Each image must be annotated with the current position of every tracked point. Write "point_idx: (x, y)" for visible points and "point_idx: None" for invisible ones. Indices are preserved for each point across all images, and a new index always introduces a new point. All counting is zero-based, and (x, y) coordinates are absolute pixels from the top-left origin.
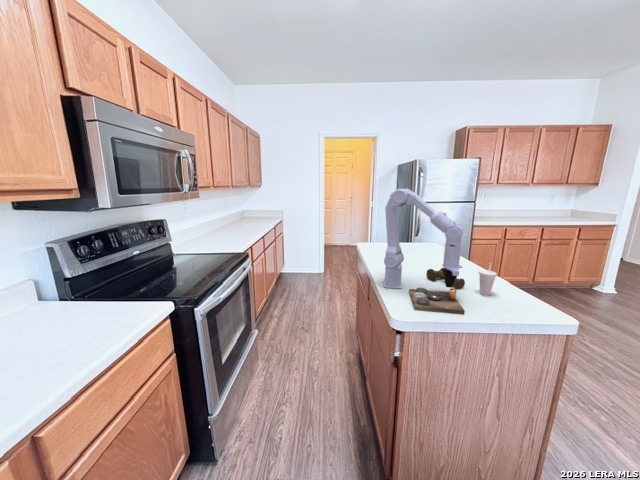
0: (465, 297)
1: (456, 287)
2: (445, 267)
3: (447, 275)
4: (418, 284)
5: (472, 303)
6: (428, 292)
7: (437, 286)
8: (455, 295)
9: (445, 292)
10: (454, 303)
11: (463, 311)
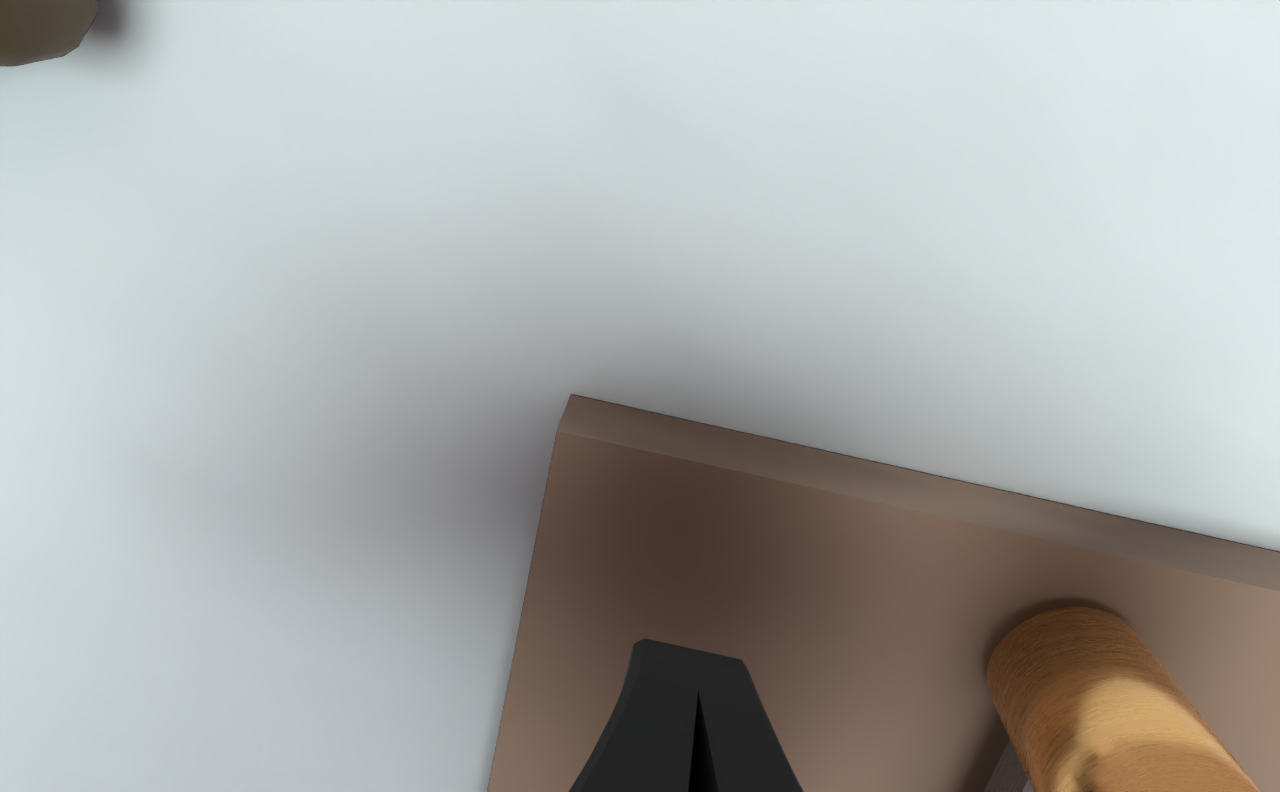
0: (706, 73)
1: (83, 29)
2: None
3: None
4: (8, 776)
5: (1105, 98)
6: None
7: (22, 448)
8: (1227, 751)
9: (594, 589)
10: (1241, 693)
11: None
